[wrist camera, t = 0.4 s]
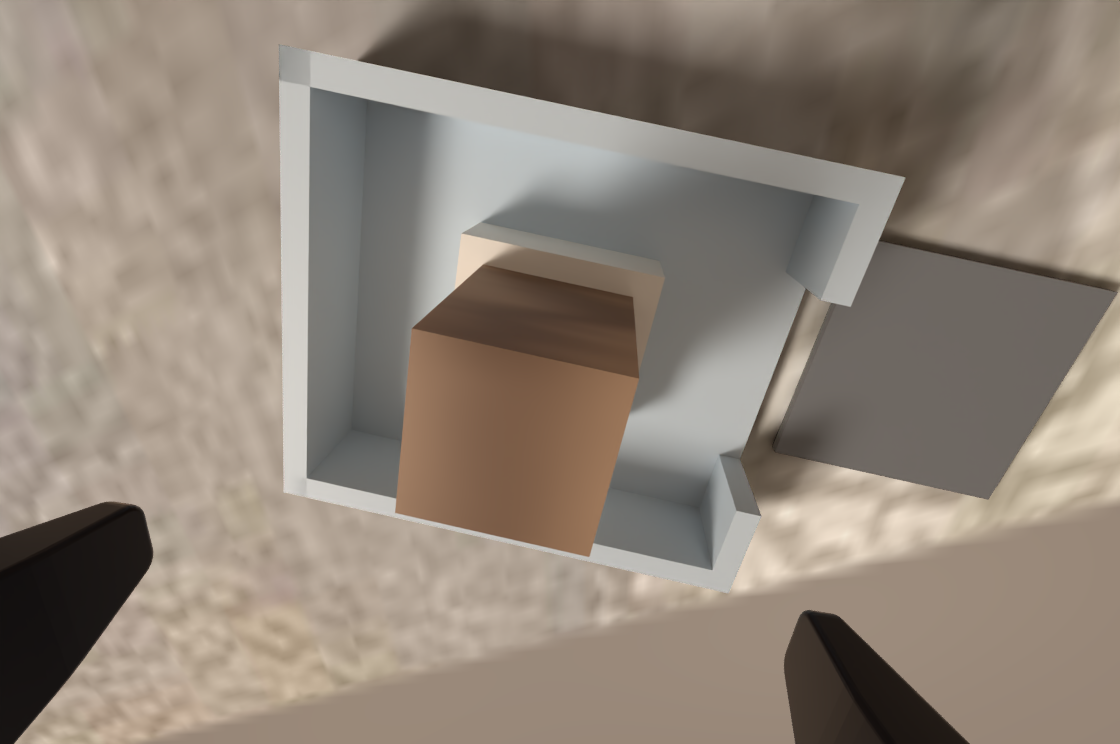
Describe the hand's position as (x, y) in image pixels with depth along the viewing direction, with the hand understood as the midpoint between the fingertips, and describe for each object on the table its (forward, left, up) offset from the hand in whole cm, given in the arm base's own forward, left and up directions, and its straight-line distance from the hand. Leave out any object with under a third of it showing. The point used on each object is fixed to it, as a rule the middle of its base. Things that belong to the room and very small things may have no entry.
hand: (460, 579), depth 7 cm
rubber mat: (-13, 0, -13) cm, 18 cm away
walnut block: (0, +1, -10) cm, 10 cm away
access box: (0, +1, -13) cm, 13 cm away
